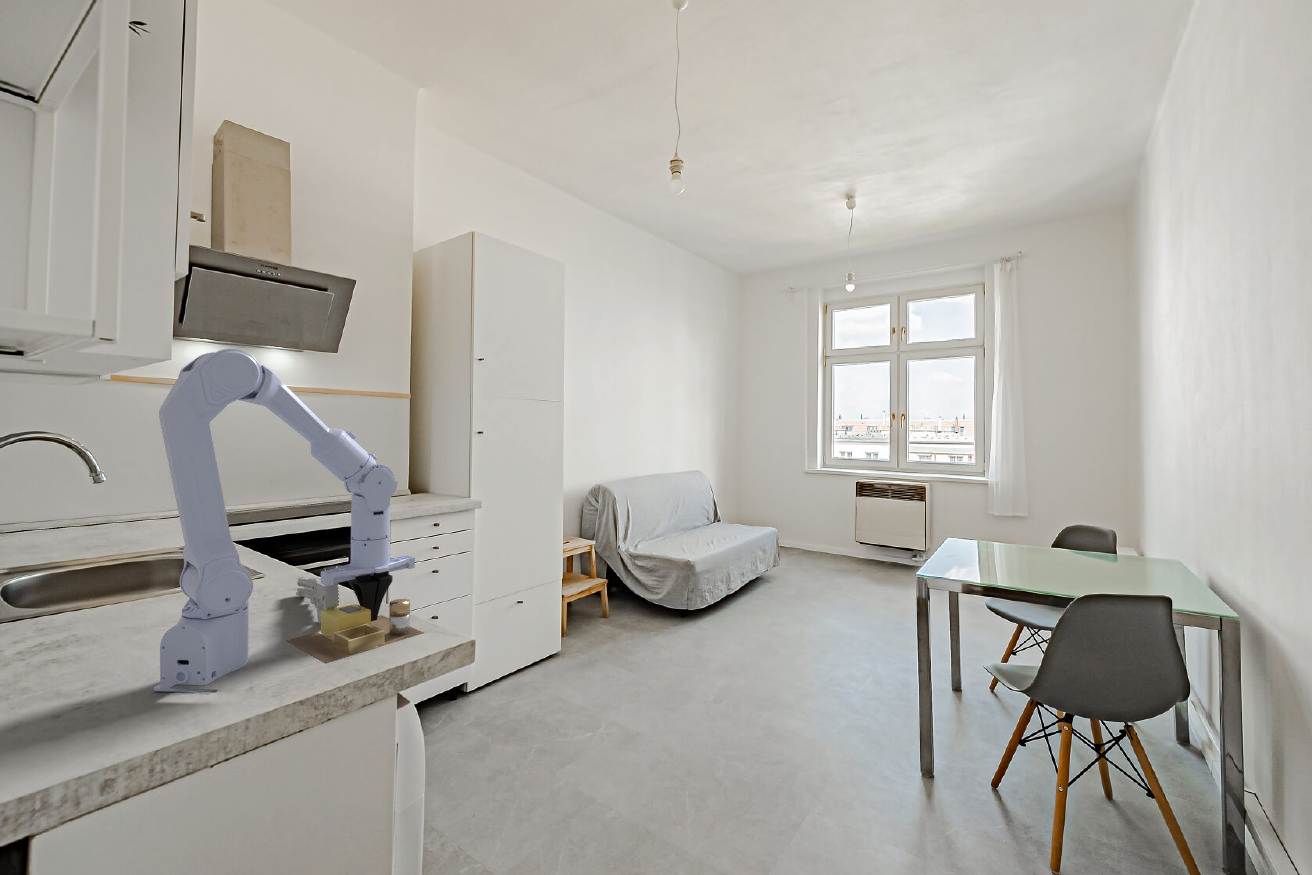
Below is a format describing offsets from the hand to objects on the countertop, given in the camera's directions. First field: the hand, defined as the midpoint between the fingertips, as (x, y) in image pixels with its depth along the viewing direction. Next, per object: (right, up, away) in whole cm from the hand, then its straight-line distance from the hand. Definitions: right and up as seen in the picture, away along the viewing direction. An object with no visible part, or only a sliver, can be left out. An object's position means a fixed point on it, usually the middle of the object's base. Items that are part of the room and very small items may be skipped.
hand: (370, 619), depth 94 cm
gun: (-14, -2, +8) cm, 16 cm away
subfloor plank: (0, -3, -4) cm, 5 cm away
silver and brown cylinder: (+6, -1, -2) cm, 6 cm away
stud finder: (-2, -1, -3) cm, 4 cm away
